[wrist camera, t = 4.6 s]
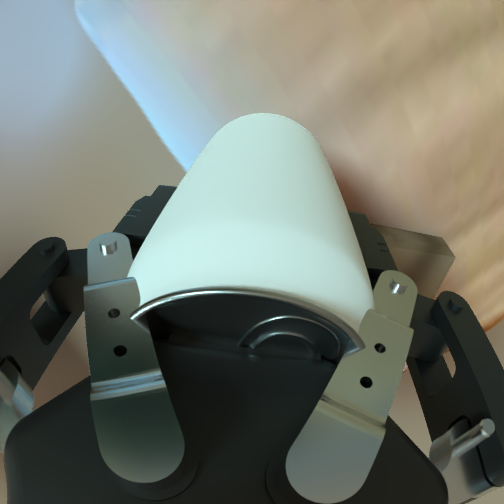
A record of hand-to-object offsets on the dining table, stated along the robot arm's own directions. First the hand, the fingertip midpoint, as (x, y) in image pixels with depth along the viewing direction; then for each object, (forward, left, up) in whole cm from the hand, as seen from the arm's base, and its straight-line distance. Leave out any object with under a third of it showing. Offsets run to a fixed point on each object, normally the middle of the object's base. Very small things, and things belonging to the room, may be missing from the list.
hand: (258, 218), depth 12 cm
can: (0, 0, -5) cm, 5 cm away
